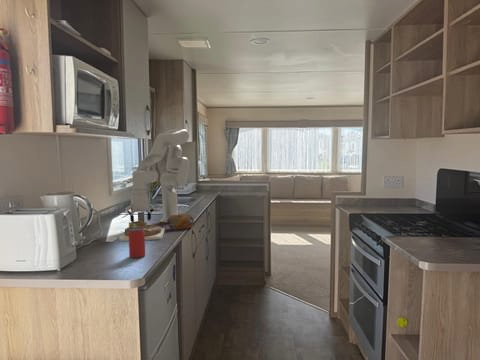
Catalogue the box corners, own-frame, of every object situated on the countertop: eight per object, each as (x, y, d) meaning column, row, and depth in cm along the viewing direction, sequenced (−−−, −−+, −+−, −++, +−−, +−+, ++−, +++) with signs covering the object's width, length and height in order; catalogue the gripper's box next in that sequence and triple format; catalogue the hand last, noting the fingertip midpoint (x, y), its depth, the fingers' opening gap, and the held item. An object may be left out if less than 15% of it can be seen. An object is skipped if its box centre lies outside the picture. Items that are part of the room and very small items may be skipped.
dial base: (127, 232, 202) (127, 229, 201) (165, 230, 204) (165, 227, 204) (118, 241, 181) (118, 237, 181) (160, 239, 183) (160, 236, 183)
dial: (118, 232, 193) (118, 224, 192) (150, 227, 206) (150, 219, 205) (134, 238, 179) (134, 229, 178) (167, 232, 191) (167, 223, 191)
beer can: (147, 254, 156) (146, 227, 155) (143, 258, 150) (142, 230, 149) (131, 254, 156) (130, 227, 155) (127, 258, 150) (126, 230, 149)
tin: (167, 230, 206) (167, 215, 205) (167, 228, 209) (166, 214, 208) (193, 228, 210) (193, 213, 209) (193, 227, 213) (192, 213, 212)
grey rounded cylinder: (137, 229, 209) (136, 212, 208) (143, 228, 211) (142, 211, 210) (139, 230, 206) (138, 213, 205) (145, 229, 208) (144, 212, 207)
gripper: (152, 190, 215) (153, 218, 216) (122, 192, 206) (124, 221, 207) (156, 191, 208) (157, 220, 210) (126, 193, 199) (127, 223, 201)
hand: (140, 221), depth 208 cm, fingers open, 9 cm apart
